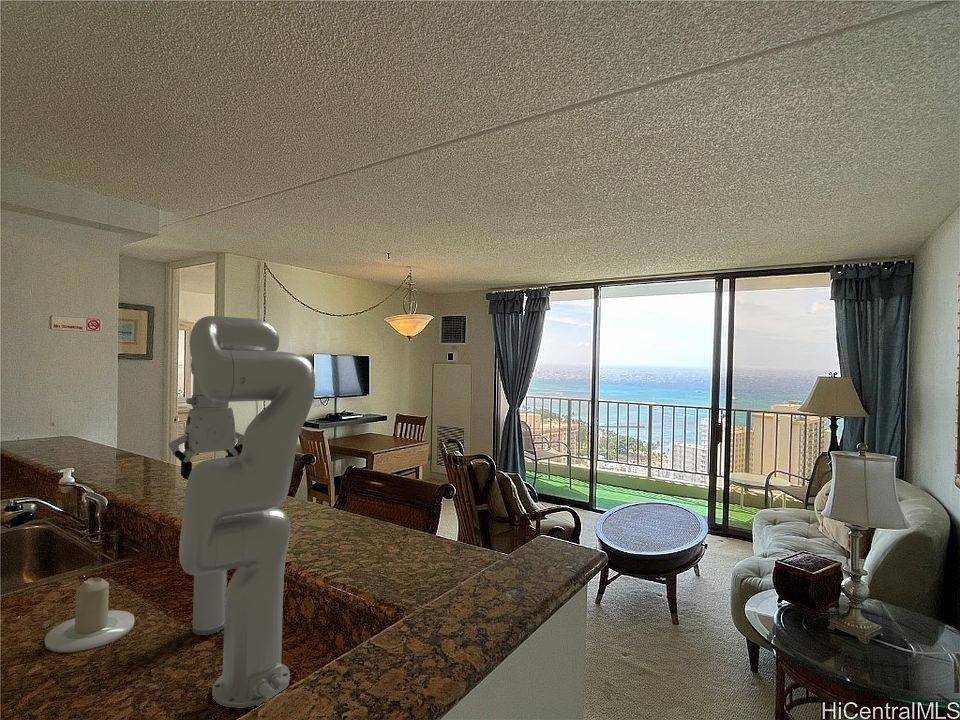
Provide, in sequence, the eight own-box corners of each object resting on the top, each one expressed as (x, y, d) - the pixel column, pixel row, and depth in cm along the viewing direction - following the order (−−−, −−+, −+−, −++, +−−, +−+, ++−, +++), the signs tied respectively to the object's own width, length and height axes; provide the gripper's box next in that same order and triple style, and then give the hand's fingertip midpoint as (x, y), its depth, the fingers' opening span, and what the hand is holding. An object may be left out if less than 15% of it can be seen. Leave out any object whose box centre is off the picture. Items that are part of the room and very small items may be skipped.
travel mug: (184, 631, 109) (187, 537, 109) (213, 618, 115) (215, 529, 115) (203, 640, 106) (206, 542, 106) (231, 626, 112) (234, 534, 112)
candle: (79, 637, 104) (80, 588, 104) (71, 628, 107) (72, 580, 107) (111, 626, 108) (113, 579, 108) (102, 618, 112) (104, 572, 112)
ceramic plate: (144, 631, 109) (144, 626, 109) (53, 661, 98) (54, 655, 98) (122, 608, 119) (122, 603, 119) (37, 633, 107) (37, 628, 107)
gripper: (177, 405, 112) (175, 484, 112) (254, 401, 126) (252, 472, 125) (163, 403, 117) (161, 479, 116) (239, 400, 130) (237, 468, 130)
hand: (208, 475), depth 121 cm, fingers open, 9 cm apart
